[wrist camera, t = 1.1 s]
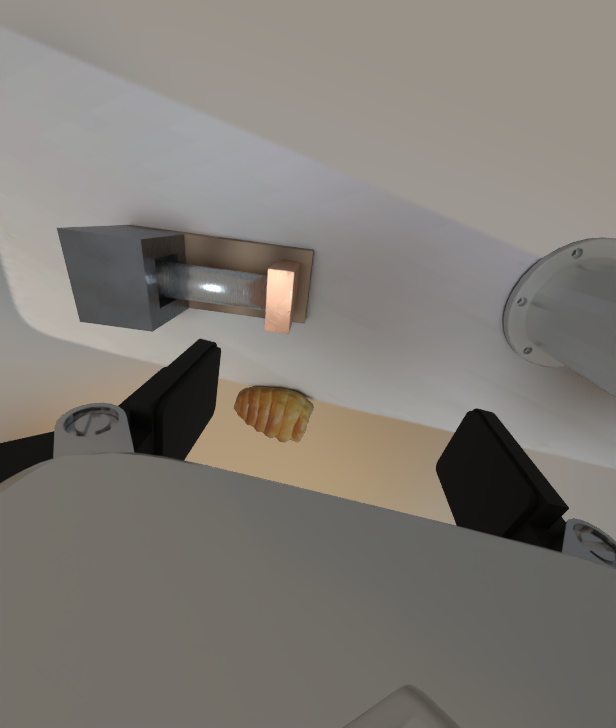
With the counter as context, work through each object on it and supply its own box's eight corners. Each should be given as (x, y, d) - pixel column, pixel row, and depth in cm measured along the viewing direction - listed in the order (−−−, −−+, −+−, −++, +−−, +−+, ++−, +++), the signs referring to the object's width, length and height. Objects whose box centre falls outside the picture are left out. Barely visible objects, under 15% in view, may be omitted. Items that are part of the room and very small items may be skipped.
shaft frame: (313, 249, 28) (308, 262, 21) (305, 318, 31) (297, 351, 24) (129, 225, 28) (56, 228, 21) (139, 296, 31) (80, 321, 24)
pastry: (233, 415, 38) (224, 434, 35) (243, 372, 35) (234, 388, 32) (302, 434, 39) (299, 455, 36) (317, 394, 36) (316, 412, 33)
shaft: (300, 262, 26) (294, 272, 22) (294, 315, 29) (288, 333, 24) (158, 243, 27) (123, 249, 22) (164, 298, 29) (133, 312, 24)
